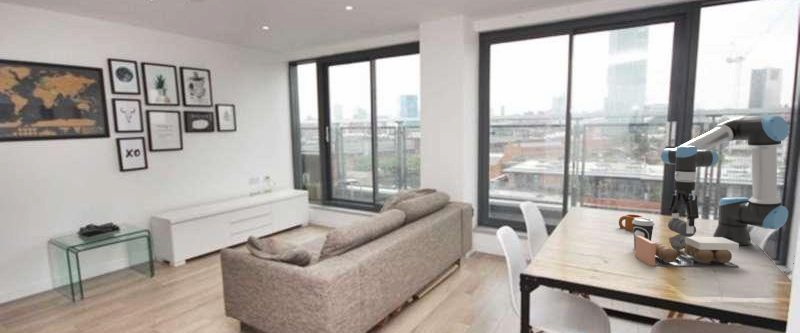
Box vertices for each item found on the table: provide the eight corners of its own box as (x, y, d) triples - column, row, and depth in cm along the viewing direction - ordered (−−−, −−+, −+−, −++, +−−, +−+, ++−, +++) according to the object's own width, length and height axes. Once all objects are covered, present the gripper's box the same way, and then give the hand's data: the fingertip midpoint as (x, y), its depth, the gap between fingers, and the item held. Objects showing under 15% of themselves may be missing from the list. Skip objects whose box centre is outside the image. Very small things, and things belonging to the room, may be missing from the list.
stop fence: (639, 256, 186) (640, 235, 185) (654, 265, 173) (655, 243, 172) (634, 256, 186) (635, 235, 185) (650, 265, 173) (651, 243, 172)
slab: (721, 243, 181) (722, 237, 180) (738, 250, 171) (739, 243, 170) (684, 242, 182) (685, 236, 182) (699, 249, 172) (699, 242, 172)
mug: (620, 227, 239) (621, 212, 238) (643, 230, 231) (644, 215, 230) (617, 230, 232) (617, 215, 231) (640, 233, 224) (641, 218, 223)
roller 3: (684, 255, 182) (684, 242, 182) (697, 255, 182) (698, 243, 181) (698, 262, 173) (699, 249, 172) (712, 263, 172) (713, 249, 172)
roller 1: (650, 255, 184) (650, 242, 183) (663, 255, 183) (664, 242, 183) (662, 262, 174) (663, 249, 173) (676, 262, 173) (677, 249, 173)
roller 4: (701, 255, 182) (702, 242, 181) (714, 255, 181) (715, 243, 181) (716, 262, 172) (717, 249, 171) (731, 263, 171) (732, 249, 171)
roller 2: (668, 231, 182) (667, 218, 181) (681, 230, 181) (681, 218, 181) (681, 237, 172) (681, 223, 172) (696, 236, 172) (696, 223, 171)
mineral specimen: (666, 247, 198) (668, 227, 197) (686, 249, 194) (687, 229, 193) (668, 252, 190) (669, 232, 189) (688, 255, 186) (690, 234, 185)
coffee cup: (656, 252, 191) (658, 222, 189) (635, 251, 193) (636, 221, 191) (648, 246, 200) (650, 217, 199) (628, 245, 202) (629, 217, 201)
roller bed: (715, 256, 183) (715, 253, 183) (738, 267, 169) (738, 263, 169) (638, 255, 186) (638, 252, 186) (655, 266, 172) (655, 262, 172)
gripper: (661, 177, 186) (658, 224, 188) (692, 184, 164) (689, 236, 166) (678, 177, 185) (675, 224, 187) (711, 184, 163) (708, 237, 165)
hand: (681, 230), depth 177 cm, fingers closed on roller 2, 10 cm apart
